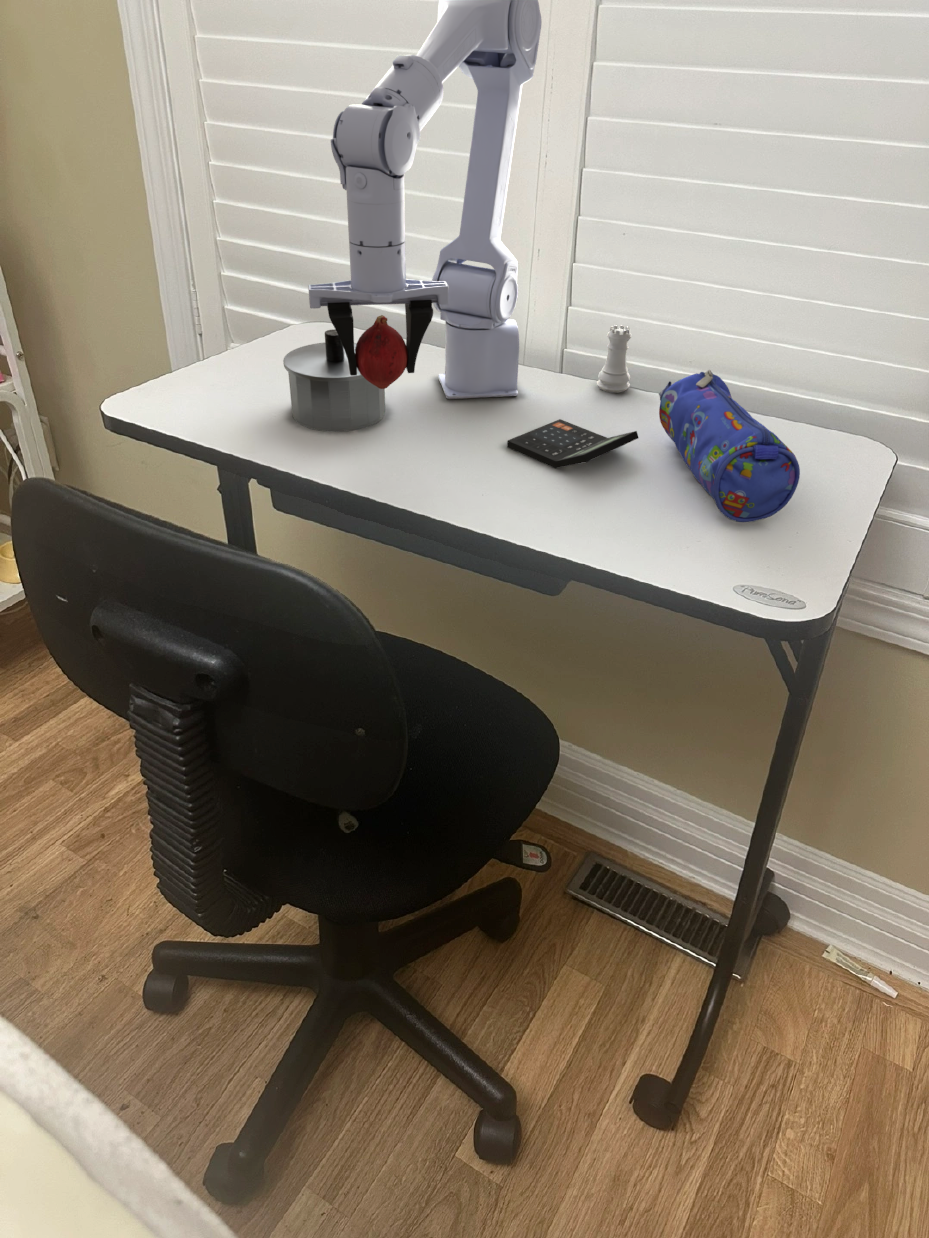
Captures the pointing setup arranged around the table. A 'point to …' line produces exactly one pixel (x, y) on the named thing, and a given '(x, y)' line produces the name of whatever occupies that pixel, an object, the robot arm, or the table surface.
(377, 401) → the pot
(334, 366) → the pot lid
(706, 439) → the pencil case
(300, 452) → the table surface
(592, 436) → the calculator
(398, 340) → the red oval fruit
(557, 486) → the table surface
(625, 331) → the rook chess piece
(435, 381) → the table surface
